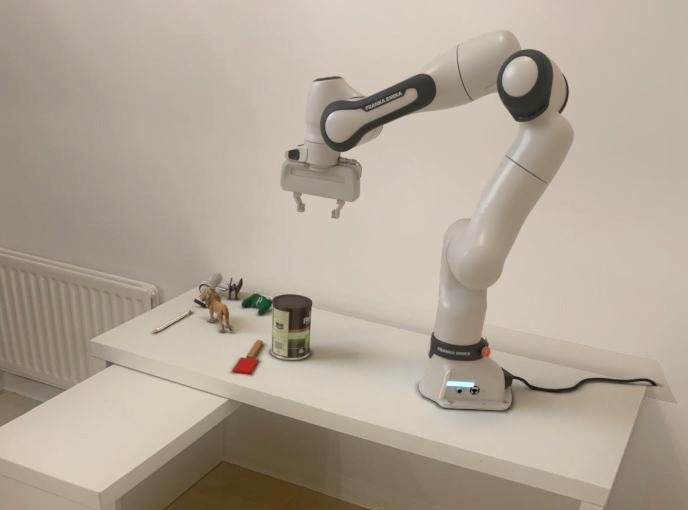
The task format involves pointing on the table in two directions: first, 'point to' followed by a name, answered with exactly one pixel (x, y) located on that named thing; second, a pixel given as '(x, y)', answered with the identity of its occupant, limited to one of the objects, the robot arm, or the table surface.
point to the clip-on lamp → (215, 282)
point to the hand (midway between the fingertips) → (317, 214)
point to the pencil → (172, 321)
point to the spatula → (248, 360)
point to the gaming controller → (258, 302)
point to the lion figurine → (215, 307)
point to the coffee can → (291, 326)
